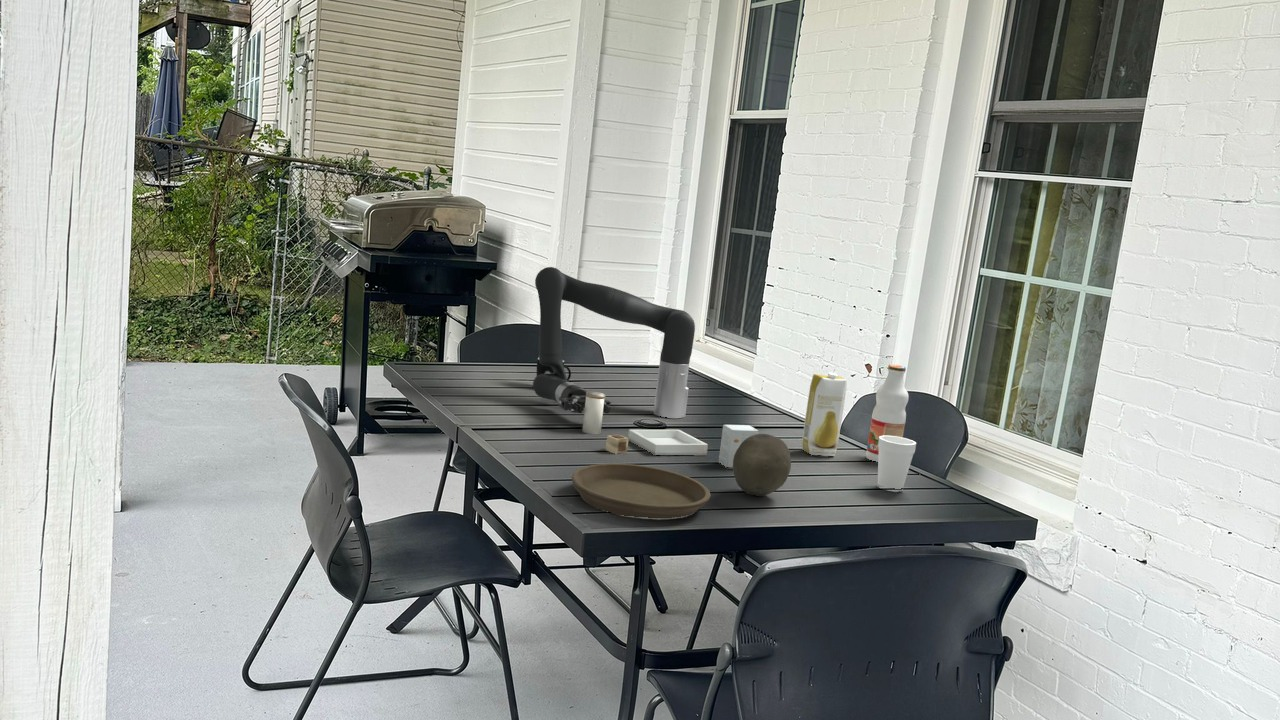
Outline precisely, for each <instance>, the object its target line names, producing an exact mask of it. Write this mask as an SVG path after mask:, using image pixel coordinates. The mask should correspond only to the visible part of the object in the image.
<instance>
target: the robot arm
mask: <svg viewBox="0 0 1280 720" xmlns="http://www.w3.org/2000/svg"><path fill="white" fill-rule="evenodd" d="M534 286H535V288H536V291H537V296H538V300H539V301H538V302H539V310H540V311H539V313H540V314H539V316H540V319H539V320H540V321H539V336H538V340H539V341H538V344H539V345H538V358H539V362H540V364H542V365H545V366H550V367H552V369H553V371H554V373H551V374H539V375H538V376H537V375H536V376H535V377H534V379H533V382H532V387H533V391H534V393H535V394H536V395H537V396H538V397H540V398H543V399H546V400H550V401H554V402H557V403H558V407H560V408H561V409H562V410H564V411H570V412H571V413H574V414H576V413H577V414H582V413H583V412H584V410H585V402H586V392H588V391H587V390H586V389H585V388H583V387H582V386H579V385H578V384H575V383H573V382H570V381H569V380H568V381H567V378H568V376H567V375H566V371H565V368H564V366H563V361H562V360H563V339H562V337H563V336H562V335H563V334H562V320H561V319H562V318H561V316H562V315H561V311H562V310H561V309H562V301H565V302H569V303H572V304H576V305H578V306H580V307H583V308H584V309H586V310H588V311H590V312H593V313H596V314H597V315H600V316H603V317H606V318H609V319H611V320H614V321H617V322H618V321H619V322H622V323H628V324H634V325H640V326H645V327H648V328H651V329H654V330H656V331H659V332H661V333H663V334H664V335H663V342H662V348H661V350H660V358H659V365H658V374H657V382H656V389H655V398H654V405H653V415H654V416H657V417H660V416H661V418H665V417H667V418H666V419H680V418H685V417H686V413H687V412H686V411H687V405H688V397H689V396H688V395H689V389H690V388H689V387H688V386H687V385H688V375H689V370H690V369H689V368H690V360H691V357H692V353H693V352H692V351H693V346H694V340H695V332H696V331H695V330H696V323H695V321H694V319H693V317H692V315H690V314H689V312H687V311H684V310H683V309H678V308H676V309H675V308H671V307H666V306H663V305H658V304H655V303H653V302H650V301H648V300H647V299H644V298H642V297H639V296H637V295H634V294H631V293H629V292H627V291H624V290H620V289H617V288H615V287H612V286H607V285H603V284H599V283H598V284H597V283H592V282H587V281H582V280H579V279H576V278H575V277H572V276H570V275H567V274H565V273H563V272H562V271H561V270H559V269H558V268H556V267H552V266H548V267H547V266H546V267H544V268H542V269H541V270H539V272H538V273H537V274H536V276H535V281H534ZM611 403H612V402H611V401H609V400H607V399H606V398H605V399H604V407H603V414H604V413H605V414H606V415H607V414H610V413H611Z"/></svg>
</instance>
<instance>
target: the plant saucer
mask: <svg viewBox="0 0 1280 720" xmlns="http://www.w3.org/2000/svg"><path fill="white" fill-rule="evenodd" d="M571 481H572V484H573V487H574V489H575V490H576V491H577V493H579V495H580V497H581V499H582V500H583V501H584V502H585V503H587V504H588V505H589V506H591V507H593V508H596V509H597V508H598V509H597V510H599V509H601V510H600V511H602V510H604V511H603V512H605V511H608V512H611V513H614V514H618V515H624V516H634V517H648V518H672V517H673V518H674V517H681V516H686V515H690V514H692V513H694V512H696V513H697V511H698V510H700V509H702V508H703V507H704V506H705V505H706V504H707V503H708V502H709V500H710V499H711V493H710V492H711V491H710V490H709V488H708V487H706V486H705V485H704V483H701V482H700V481H698V480H696V479H695V478H694V479H693V478H692V477H690V476H687V475H684V474H681V473H679V472H675V471H672V470H667V469H663V468H659V467H656V466H655V467H653V466H648V465H643V464H642V465H641V464H635V463H613V462H612V463H599V464H598V463H597V464H590V465H585V466H583V467H581V468H579V469H576V470H575V471H574V472H573V473H572V475H571ZM608 512H607V513H608ZM611 513H610V514H611ZM614 514H613V515H614ZM694 514H695V513H694ZM618 515H617V516H618Z"/></svg>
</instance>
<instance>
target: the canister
mask: <svg viewBox="0 0 1280 720" xmlns="http://www.w3.org/2000/svg"><path fill="white" fill-rule="evenodd" d="M604 399H605V400H606V394H605V393H602V392H598V391H587V392H586V402H585V410H583V421H582V428H581V429H582V430H581V432H582V433H585V434H587V435H588V434H589V435H600V434H601V431H602V422H603V417H604V416H603V414H604V412H603V407H604Z"/></svg>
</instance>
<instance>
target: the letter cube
mask: <svg viewBox="0 0 1280 720" xmlns="http://www.w3.org/2000/svg"><path fill="white" fill-rule="evenodd" d="M628 439H629V438H628V437H626V436H623V435H622V434H621V435H620V434H612V435H611V434H609V435H607V437H606V444H605V451H606V452H610V453H612V454H614V453H615V455H618V454H617V453H621V454H627V453H628V446H629V441H628ZM626 452H627V453H626Z"/></svg>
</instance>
